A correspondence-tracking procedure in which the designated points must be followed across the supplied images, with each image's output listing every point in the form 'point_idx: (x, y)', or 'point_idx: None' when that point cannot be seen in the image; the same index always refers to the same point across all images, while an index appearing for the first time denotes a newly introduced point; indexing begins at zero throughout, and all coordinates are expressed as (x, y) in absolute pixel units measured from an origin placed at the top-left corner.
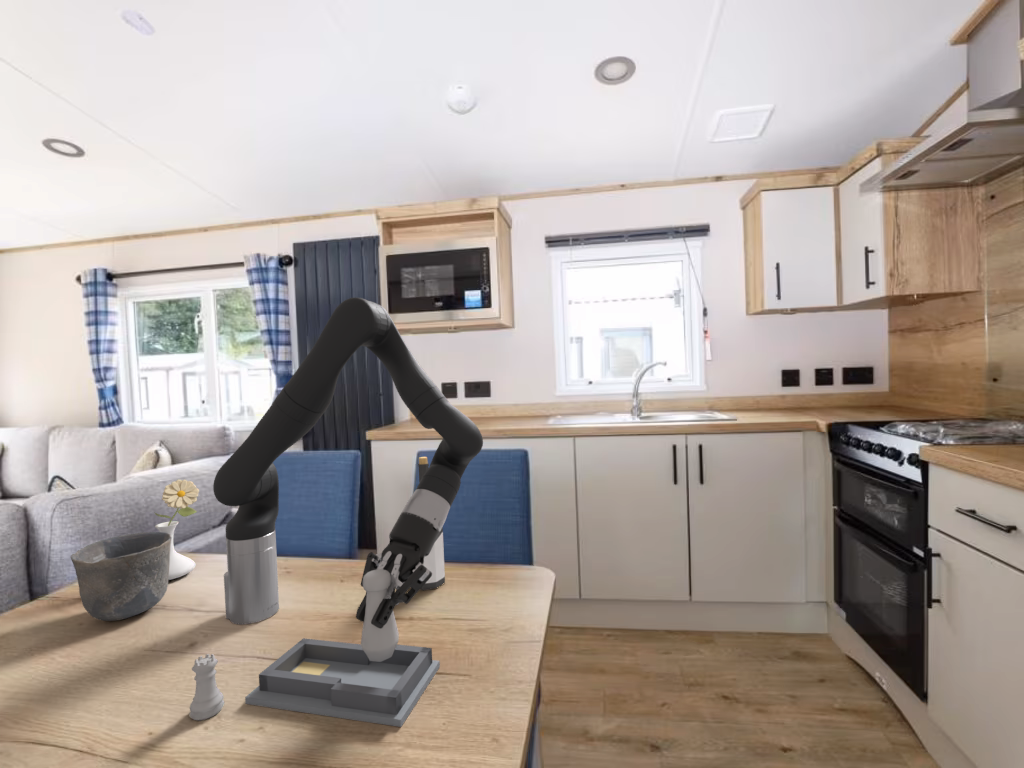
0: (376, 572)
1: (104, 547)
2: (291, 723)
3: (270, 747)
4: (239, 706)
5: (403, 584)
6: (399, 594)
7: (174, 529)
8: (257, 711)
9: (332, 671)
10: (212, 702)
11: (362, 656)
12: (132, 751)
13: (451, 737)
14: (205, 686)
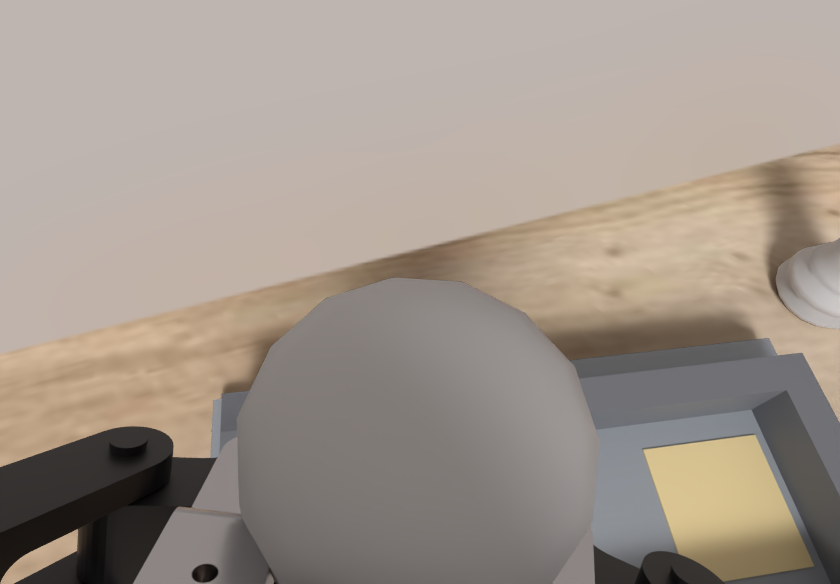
0: (421, 410)
1: None
2: (552, 326)
3: (526, 254)
4: (759, 334)
5: (42, 503)
6: (109, 437)
7: None
8: (689, 334)
9: (639, 550)
10: (802, 267)
11: None
12: (795, 173)
13: (37, 418)
14: None
